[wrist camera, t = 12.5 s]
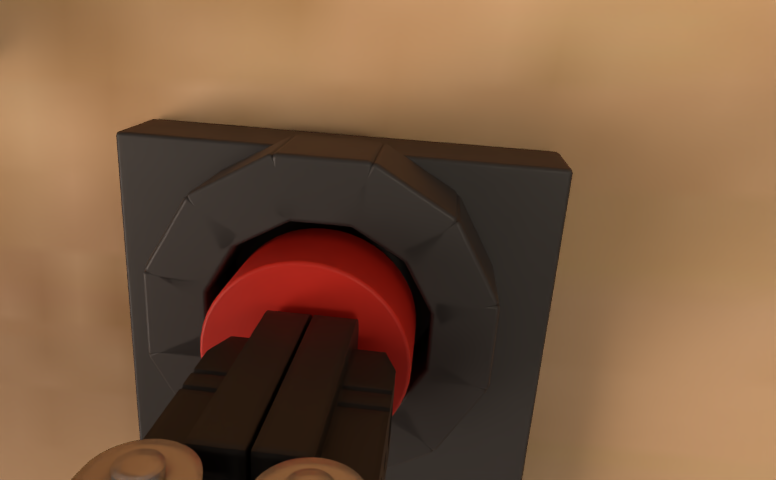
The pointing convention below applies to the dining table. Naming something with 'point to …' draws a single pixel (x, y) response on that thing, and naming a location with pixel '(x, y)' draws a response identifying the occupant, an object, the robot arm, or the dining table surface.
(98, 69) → the dining table surface
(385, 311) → the button
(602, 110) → the dining table surface
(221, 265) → the box
